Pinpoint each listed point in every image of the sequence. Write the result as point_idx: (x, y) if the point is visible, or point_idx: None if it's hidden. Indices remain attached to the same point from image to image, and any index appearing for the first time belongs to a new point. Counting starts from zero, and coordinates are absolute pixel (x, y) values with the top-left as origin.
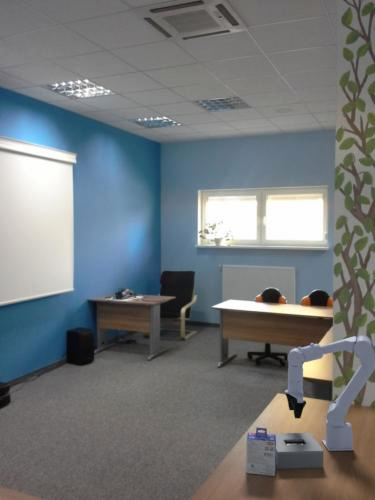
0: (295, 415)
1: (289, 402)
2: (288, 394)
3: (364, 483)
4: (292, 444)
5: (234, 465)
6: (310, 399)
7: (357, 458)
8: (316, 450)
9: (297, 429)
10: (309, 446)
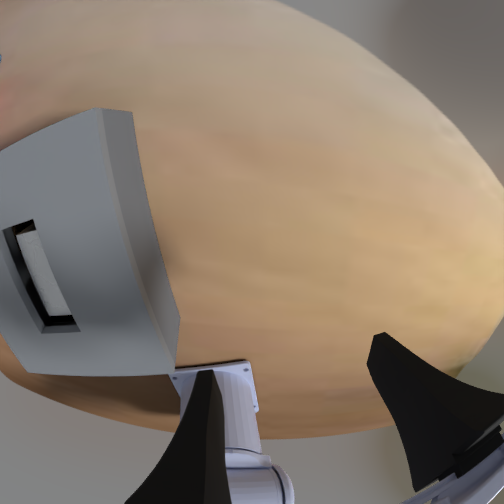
0: (192, 394)
1: (412, 382)
2: (457, 441)
3: (36, 387)
4: (41, 262)
5: (12, 8)
6: (499, 318)
7: (147, 413)
8: (15, 352)
9: (366, 281)
10: (27, 338)
